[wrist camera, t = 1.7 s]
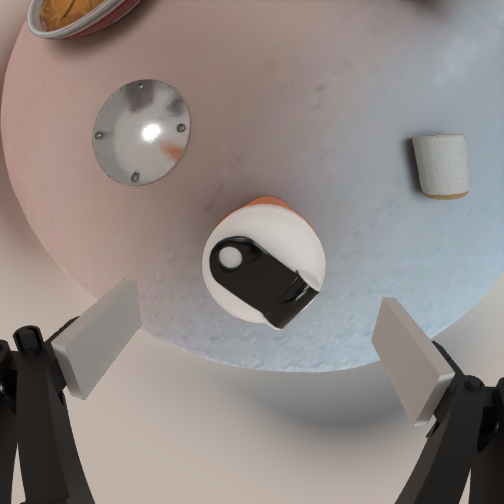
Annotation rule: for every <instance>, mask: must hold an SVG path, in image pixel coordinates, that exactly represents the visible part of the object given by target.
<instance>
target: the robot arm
mask: <svg viewBox="0 0 504 504" xmlns="http://www.w3.org/2000/svg"><path fill="white" fill-rule="evenodd" d="M140 326H141V317H140V310H139V302H138V293H137V283H136V281H135V280H127V279H124V280H123V281H121V282H120V283H119V284H118V285H116V286H115V287H114V288H113V289H112V290H110V291H109V292H108V293H107V294H106V295H104V296H103V297H102V298H101V299H100V300H98V301H97V302H96V303H95V304H94V305H93V306H91V307H90V308H89V309H88V310H87V311H86V312H84V313H83V314H82V315H81V316H78V317H75V318H73V319H71V320H69V321H68V322H67V323H66V324H65V325H64V326H63V327H62V328H60V329H59V331H57V332H55V333H54V334H53V335H52V336H51V337H50V338H49V339H48V340H46V341H45V342H44V341H43V338H42V335H41V332H40V328H38V327H37V326H32V325H30V326H24V327H22V328H19V329H18V330H16V331H15V332H14V334H13V338H14V341H15V344H16V346H17V349H18V351H11V350H10V348H9V345H8V342H7V341H5V340H0V385H1V387H2V391H1V390H0V504H11V493H12V480H13V471H14V463H15V455H16V449H17V443H18V450H19V460H20V468H21V474H22V480H23V486H24V492H25V497H26V500H25V502H23V503H20V504H95V502H94V500H93V497H92V494H91V492H90V489H89V486H88V483H87V481H86V478H85V475H84V472H83V469H82V466H81V462H80V459H79V456H78V452H77V449H76V445H75V441H74V437H73V433H72V429H71V425H70V420H69V416H68V410H67V405H66V400H65V395H64V393H63V391H62V390H63V389H64V388H65V386H66V385H67V387H68V389H69V392H70V394H71V395H72V396H74V397H77V398H80V399H82V400H85V399H86V398H87V397H88V395H89V394H90V392H91V391H92V390H93V388H94V387H95V386H96V384H97V383H98V381H99V380H100V379H101V377H102V376H103V375H104V373H105V372H106V370H107V369H108V368H109V367H110V365H111V364H112V363H113V361H114V360H115V359H116V357H117V356H118V354H119V353H120V352H121V351H122V349H123V348H124V346H125V345H126V344H127V342H128V341H129V340H130V339H131V338H132V336H133V335H134V334H135V332H136V331H137V330H138V329H139V327H140ZM371 342H372V344H373V346H374V347H375V349H376V351H377V353H378V355H379V357H380V359H381V361H382V363H383V365H384V367H385V369H386V371H387V373H388V375H389V377H390V380H391V382H392V384H393V386H394V388H395V390H396V392H397V394H398V396H399V399H400V401H401V403H402V405H403V407H404V409H405V412H406V414H407V416H408V418H409V421H410V423H411V425H412V426H413V427H414V426H419V425H424V424H427V423H428V422H429V420H430V418H431V417H432V415H433V414H434V416H435V417H436V419H437V420H436V422H435V423H434V425H433V426H432V428H431V430H430V431H429V433H428V434H427V436H426V438H428V439H427V442H426V444H425V446H424V449H423V451H422V453H421V455H420V458H419V460H418V461H417V464H416V466H415V468H414V470H413V472H412V474H411V476H410V477H409V479H408V481H407V483H406V485H405V487H404V488H403V490H402V492H401V494H400V495H399V497H398V499H397V501H396V502H395V504H459V502H460V499H461V496H462V493H463V490H464V488H465V485H466V482H467V478H468V475H469V472H470V468H471V478H470V493H469V503H468V504H504V377H503V378H501V379H500V380H499V381H498V384H497V385H496V387H485V385H484V384H483V382H482V381H481V380H480V379H479V378H477V377H475V376H471V375H464V374H463V372H462V371H461V370H460V368H459V367H458V366H457V365H456V363H455V362H454V361H453V360H452V359H451V357H450V356H449V355H448V354H447V352H446V351H445V350H444V348H443V347H442V346H441V345H439V344H438V343H436V342H435V341H430V339H429V338H428V337H427V336H426V334H425V333H424V332H423V331H422V329H421V328H420V327H419V326H418V324H417V323H416V322H415V321H414V320H413V318H412V317H411V316H410V315H409V314H408V312H407V311H406V310H405V309H404V308H403V307H402V305H401V304H400V303H399V302H398V301H397V300H396V298H382V302H381V307H380V311H379V315H378V319H377V323H376V326H375V330H374V334H373V337H372V341H371ZM497 427H498V428H497Z"/></svg>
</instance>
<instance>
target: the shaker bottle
mask: <svg viewBox="0 0 504 504" xmlns="http://www.w3.org/2000/svg"><path fill="white" fill-rule="evenodd" d="M325 266H326V264H325V256H324V251H323V248H322V245H321V243H320V240H319V239H318V237H317V235H316V233H315V231H314V230H313V228H312V226H311V225H310V224H309V223H308V222H307V221H306V220H305V219H304V218H303V217H302V216H300V215H299V214H297V213H296V212H295V211H293V210H292V209H291V208H290V207H289V206H288V205H287V204H286V203H285V202H284V201H282V200H281V199H279V198H276V197H272V196H263V197H259V198H256V199H254V200H253V201H251V202H250V203H248V204H247V205H246V206H244V207H242V208H240V209H237V210H235V211H234V212H232V213H231V214H229V215H228V216H226V217H225V218H224V219H223V220H222V221H221V222H220V223H219V224H218V225H217V227H216V228H215V229H214V231H213V232H212V234H211V235H210V237H209V239H208V240H207V243H206V246H205V249H204V252H203V259H202V271H203V277H204V280H205V284H206V286H207V288H208V290H209V292H210V294H211V296H212V297H213V298H214V299H215V301H216V302H217V303H218V304H219V305H220V306H221V307H222V308H223V309H224V310H226V311H227V312H229V313H230V314H232V315H233V316H235V317H237V318H240V319H243V320H245V321H249V322H254V323H267V324H268V325H269V326H270V327H272V328H273V329H276V330H282V329H283V328H284V327H285V326H286V325H287V324H288V323H289V322H290V321H291V320H292V319H293V318H294V317H295V316H297V315H298V314H299V313H300V312H302V311H303V310H304V309H305V308H306V307H308V306H309V305H310V303H311V302H312V301H313V300H314V299H315V297H316V296H317V294H318V293H319V292H320V291H321V286H322V283H323V280H324V276H325Z"/></svg>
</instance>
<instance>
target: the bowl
mask: <svg viewBox="0 0 504 504" xmlns="http://www.w3.org/2000/svg"><path fill="white" fill-rule="evenodd" d="M139 1H140V0H31V2H30V5H29V9H28V14H27V24H28V28H29V30H30V32H31V33H32V34H34V35H35V36H37V37H40V38H45V39H50V40H66V39H74V38H78V37H82V36H86V35H89V34H92V33H94V32H97V31H99V30H101V29H103V28H105V27H107V26H109V25H111V24H112V23H114V22H116V21H117V20H119V19H120V18H122V17H123V16H124V15H126V14H127V13H128V12H129V11H130V10H132V9H133V8H134V7H135V6H136V5H137V4H138V3H139Z"/></svg>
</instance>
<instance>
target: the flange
mask: <svg viewBox="0 0 504 504" xmlns="http://www.w3.org/2000/svg"><path fill="white" fill-rule="evenodd" d="M190 131H191V120H190V114H189V110H188V107H187V105H186V103H185V101H184V99H183V98H182V96H181V95H180V94H179V93H178V92H177V91H176V90H175V89H173V88H172V87H171V86H169V85H167V84H166V83H163V82H161V81H157V80H148V79H147V80H139V81H134V82H132V83H129V84H127V85H125V86H123V87H121V88H120V89H118V90H117V91H116V92H115V93H113V94H112V95H111V96H110V97H109V98H108V100H107V101H106V102H105V104H104V105H103V106H102V108H101V110H100V112H99V114H98V116H97V119H96V122H95V125H94V130H93V149H94V153H95V157H96V159H97V162H98V163H99V165H100V167H101V168H102V170H103V171H104V172H105V173H106V174H107V175H108V176H109V177H110V178H112V179H113V180H115V181H117V182H119V183H122V184H126V185H144V184H148V183H151V182H154V181H156V180H158V179H160V178H162V177H163V176H165V175H166V174H168V173H169V172H170V171H171V170H172V169H173V168H174V167H175V166H176V165H177V163H178V162H179V160H180V159H181V158H182V156H183V154H184V152H185V150H186V147H187V145H188V141H189V137H190Z"/></svg>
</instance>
